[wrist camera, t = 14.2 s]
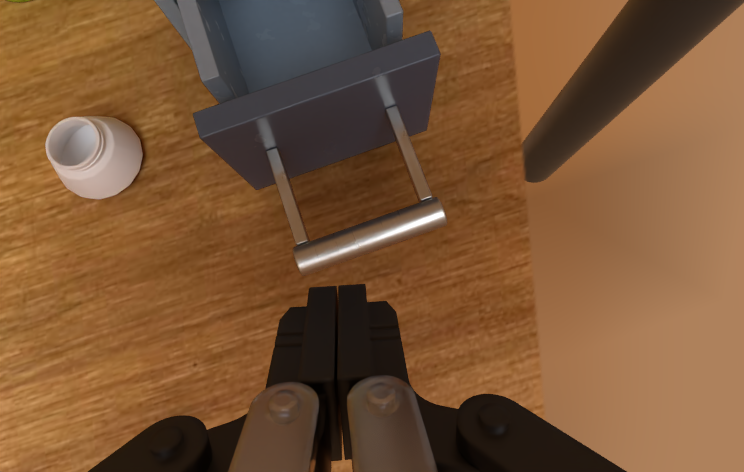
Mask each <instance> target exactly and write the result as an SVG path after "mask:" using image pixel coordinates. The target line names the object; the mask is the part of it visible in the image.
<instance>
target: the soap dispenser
mask: <svg viewBox="0 0 744 472" xmlns="http://www.w3.org/2000/svg"><path fill="white" fill-rule="evenodd" d="M7 1H11V2H26V1H31V0H7Z"/></svg>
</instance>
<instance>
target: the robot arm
mask: <svg viewBox="0 0 744 472" xmlns="http://www.w3.org/2000/svg"><path fill="white" fill-rule="evenodd" d="M342 434H343V445H344V455H345V460H348V459H352V469H353V472H626V471H625V470H623V469H622V468H620V467H618V466H617V465H615V464H614V463H612V462H610V461H609V460H607V459H605V458H604V457H602V456H601V455H599V454H597V453H596V452H594V451H593V450H591V449H590V448H588V447H586V446H585V445H583V444H582V443H580V442H578V441H577V440H575V439H573V438H572V437H570V436H569V435H567V434H566V433H564V432H562V431H561V430H559V429H557V428H556V427H554V426H553V425H551V424H550V423H548V422H546V421H545V420H543V419H542V418H540V417H538V416H537V415H535V414H534V413H532V412H530V411H529V410H527V409H526V408H524V407H522V406H521V405H519V404H518V403H516V402H514V401H512V400H511V399H508V398H506V397H503V396H499V395H494V394H481V395H476V396H473V397H471V398H469V399H467V400H466V401H464V402H463V403H462V404H461V406H460V407H459V409H455V408H450V407H445V406H440V405H436V404H433V403H431V402H429V401H427V400H425V399H423V398H422V397H420V396H419V395H418V394H417V393H416V392H415V391H414V390H413V388H412V387H411V385H410V383H409V379H408V374H407V369H406V363H405V358H404V352H403V347H402V341H401V337H400V331H399V326H398V320H397V314H396V311H395V310H394V309H393V308H392V307H391V306H390V305H389V304H388V303H387V301H379V302H367V298H366V286H365V284H356V285H341V286H339V290H338V293H337V286H327V287H311V288H309V293H308V302H307V306H306V307H291V308H289V310H288V311H287V312H286V313H285V314H284V316H283V317H282V318H281V319H280V321H279V326H278V331H277V336H276V341H275V348H274V350H273V355H272V360H271V365H270V369H269V374H268V379H267V384H266V389H265V390H263V391H262V392H261V393H260V394H258V395H257V396H256V398H255V399H254V400H253V402H252V403H251V405H250V408H249V411H248V413H247V414H246V415H244V416H242V417H240V418H239V419H237V420H234V421H232V422H229V423H226V424H223V425H220V426H217V427H214V428H211V429H208V430H206V427H205V425H204V424H203V422H201V421H200V420H199V419H197V418H195V417H192V416H174V417H170V418H166V419H163V420H161V421H159V422H157V423H155V424H153V425H151V426H150V427H148V428H147V429H145V430H144V431H143V432H141V433H140V434H138V435H137V436H136V437H134V438H133V439H132V440H130V441H129V442H128V443H126V444H125V445H123V446H122V447H121V448H119V449H118V450H117V451H115V452H114V453H113V454H111V455H110V456H108V457H107V458H106V459H104V460H103V461H102V462H100V463H99V464H98V465H96V466H95V467H93V468H92V469H91V470H89V471H88V472H331V461H338V460H342Z"/></svg>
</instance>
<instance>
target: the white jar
mask: <svg viewBox="0 0 744 472" xmlns="http://www.w3.org/2000/svg"><path fill="white" fill-rule="evenodd" d="M46 153H47V156H48V158H49V160H50V161H51V164H52V166H53V167H54V169H55V171H56V173H57V174H58V176H59V178H60V179H61V181H62V182H63V184H64V185H65V187H66V188H67V189H69V190H70V191H72V192H74V193H76V194H77V195H79V196H81V197H84V198H92V199H103V198H107V197H110V196H114V195H117V194H118V193H119V192H121V191H122V190H124V189H125V188H126V187H128V186H129V185H130V184H131V183H132V181H133V180H134V178H135V177H136V175H137V174H138V172H139V171H140V166H141V161H142V157H143V152H142V147H141V142H140V139H139V137H138V136H137V135H136V133H135V132H134V131H133V129H132V128H131V127H130V126H129V125H127V124H125V123H123V122H122V121H120V120H118V119H116V118H113V117H103V116H83V117H70V118H66V119H64V120H62V121H60V122H59V123H57V124H56V125H55V126H54V127H53V128H52V129H51V131H50V132H49V134H48V137H47V140H46Z"/></svg>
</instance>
